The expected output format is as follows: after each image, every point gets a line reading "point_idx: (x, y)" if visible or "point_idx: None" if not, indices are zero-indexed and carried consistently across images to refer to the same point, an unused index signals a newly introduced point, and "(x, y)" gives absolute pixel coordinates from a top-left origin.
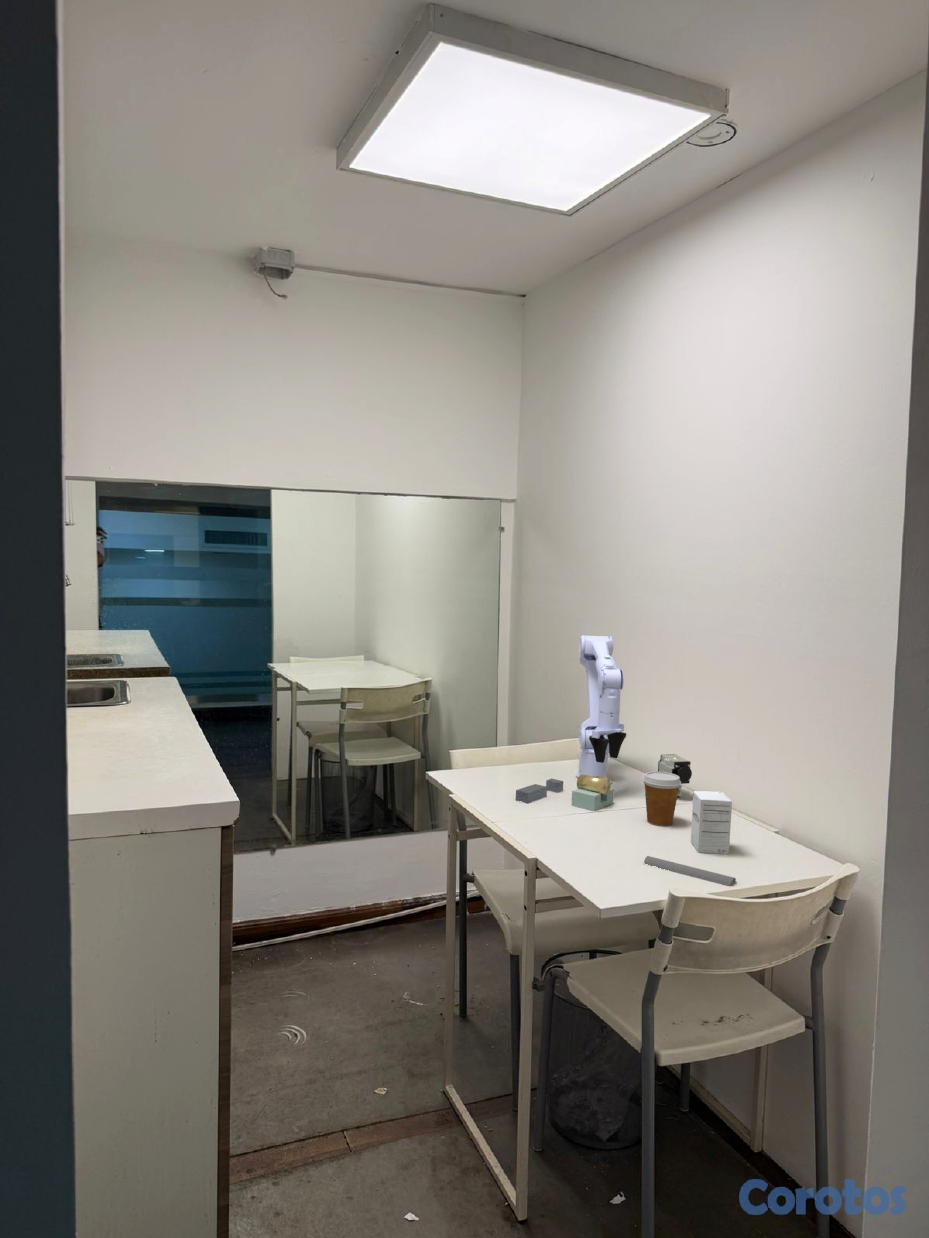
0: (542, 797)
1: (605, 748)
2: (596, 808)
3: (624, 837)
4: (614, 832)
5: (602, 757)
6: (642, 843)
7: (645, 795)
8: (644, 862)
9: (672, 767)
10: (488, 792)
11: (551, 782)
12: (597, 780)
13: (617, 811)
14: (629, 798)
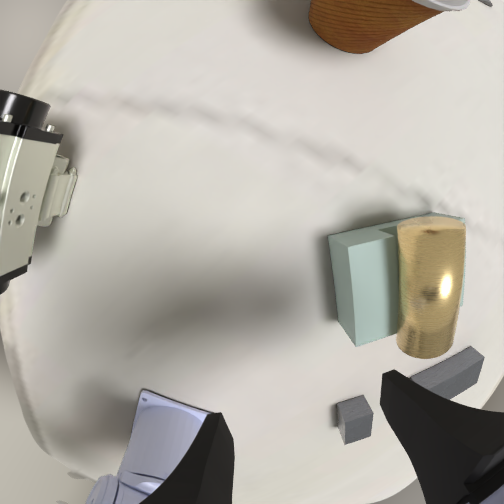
0: (426, 370)
1: (452, 414)
2: (426, 215)
3: (476, 55)
4: (480, 81)
5: (415, 386)
6: (463, 20)
7: (419, 23)
8: (491, 6)
9: (9, 153)
10: None
11: (371, 424)
12: (464, 258)
13: (385, 161)
14: (218, 246)
